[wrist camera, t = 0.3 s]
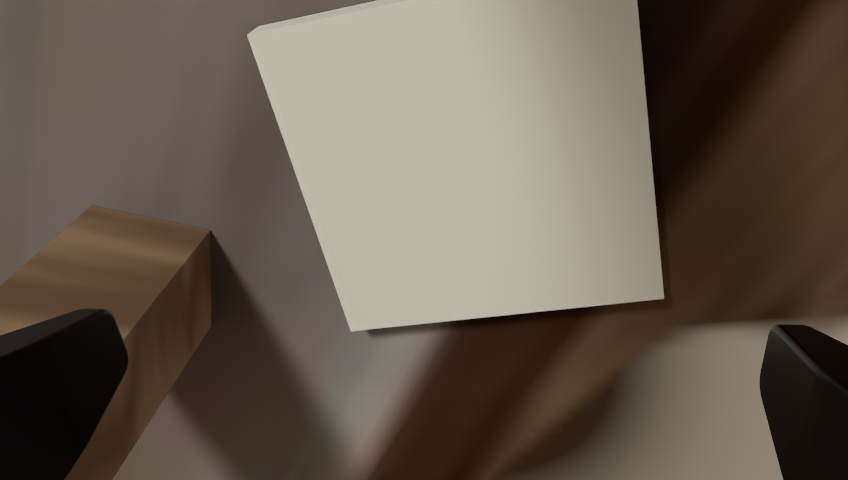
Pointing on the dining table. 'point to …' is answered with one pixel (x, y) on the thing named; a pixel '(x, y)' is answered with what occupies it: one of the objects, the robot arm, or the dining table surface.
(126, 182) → the dining table surface
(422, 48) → the felt coaster
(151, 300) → the walnut block
